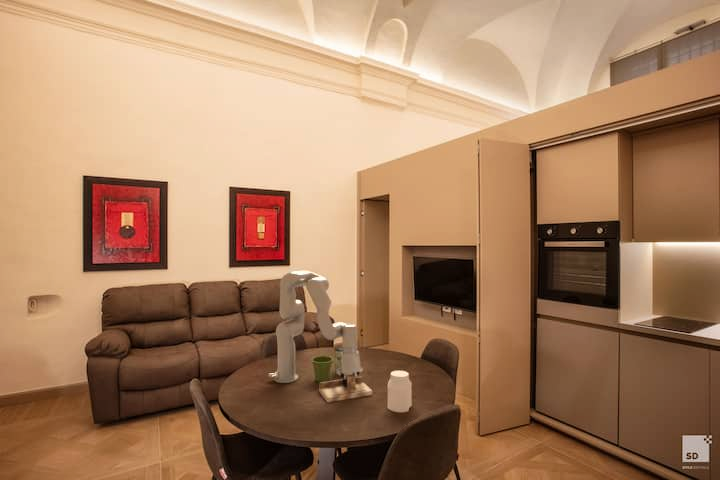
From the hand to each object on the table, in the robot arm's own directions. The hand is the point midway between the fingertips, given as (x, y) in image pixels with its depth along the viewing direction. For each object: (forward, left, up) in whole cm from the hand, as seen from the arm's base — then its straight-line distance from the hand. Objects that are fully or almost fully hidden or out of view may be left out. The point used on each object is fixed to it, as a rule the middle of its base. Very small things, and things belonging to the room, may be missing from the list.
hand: (349, 385), depth 186 cm
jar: (+15, -26, -3) cm, 30 cm away
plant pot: (-8, +20, -3) cm, 22 cm away
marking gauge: (0, -3, -1) cm, 3 cm away
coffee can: (+7, +28, -3) cm, 29 cm away
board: (-3, -2, -3) cm, 4 cm away
